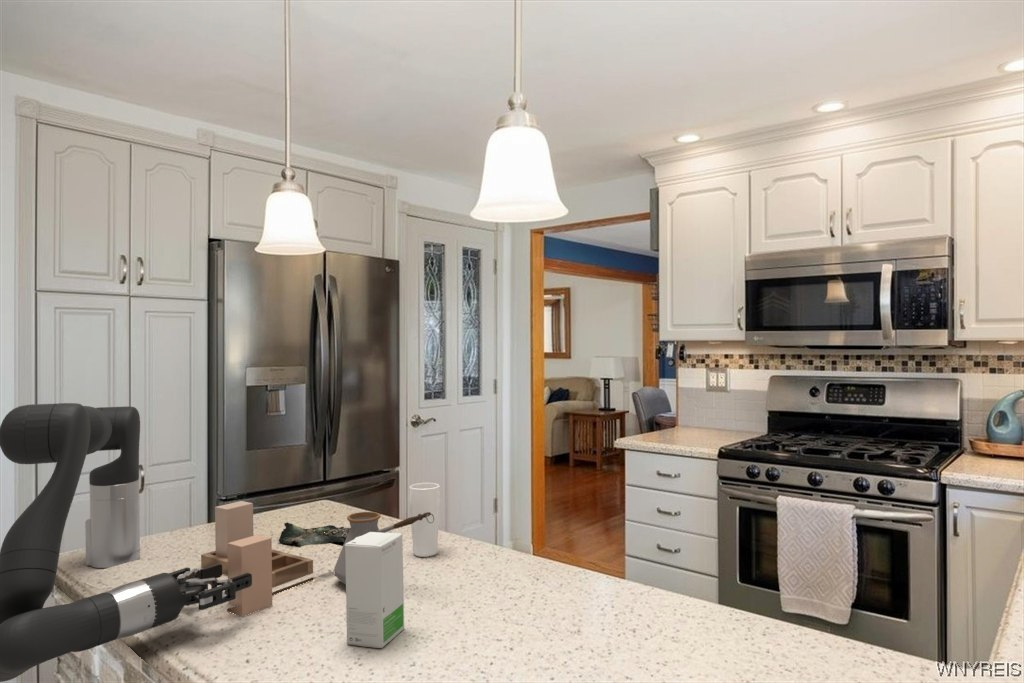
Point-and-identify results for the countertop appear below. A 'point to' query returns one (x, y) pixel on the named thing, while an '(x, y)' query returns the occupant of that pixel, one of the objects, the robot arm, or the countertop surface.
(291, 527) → the decorative rock
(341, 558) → the coffee pot
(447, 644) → the countertop surface
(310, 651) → the countertop surface
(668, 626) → the countertop surface
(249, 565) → the clay bar
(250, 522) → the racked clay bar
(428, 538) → the drinking glass
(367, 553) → the skincare box
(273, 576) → the wooden divided tray
